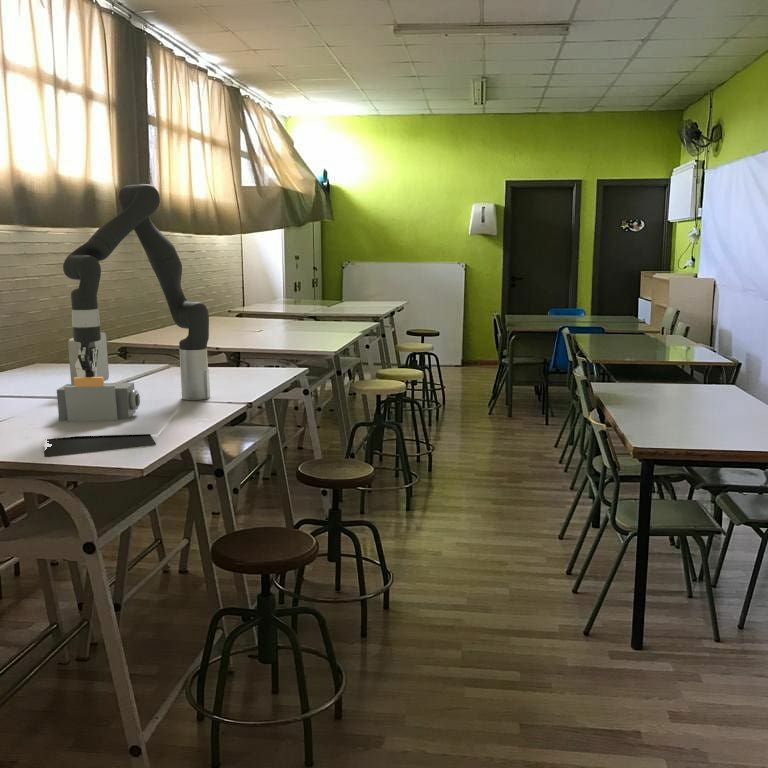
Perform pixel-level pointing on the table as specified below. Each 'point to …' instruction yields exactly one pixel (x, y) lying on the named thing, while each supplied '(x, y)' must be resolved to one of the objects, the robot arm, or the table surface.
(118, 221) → the robot arm
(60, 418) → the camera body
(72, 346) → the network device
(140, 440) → the tablet
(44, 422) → the table surface
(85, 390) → the side door
